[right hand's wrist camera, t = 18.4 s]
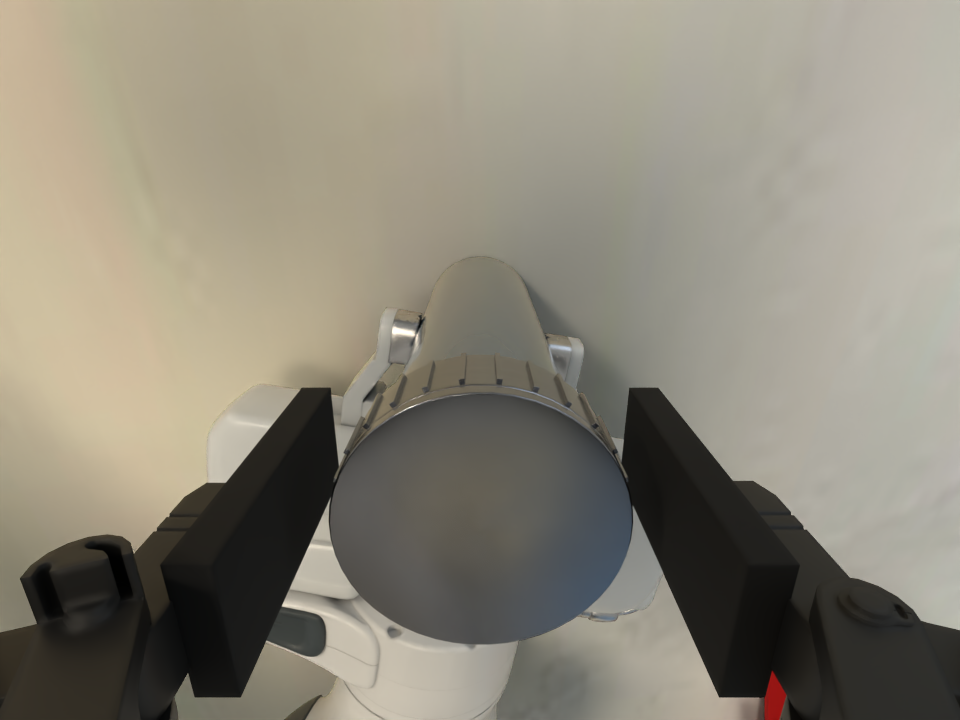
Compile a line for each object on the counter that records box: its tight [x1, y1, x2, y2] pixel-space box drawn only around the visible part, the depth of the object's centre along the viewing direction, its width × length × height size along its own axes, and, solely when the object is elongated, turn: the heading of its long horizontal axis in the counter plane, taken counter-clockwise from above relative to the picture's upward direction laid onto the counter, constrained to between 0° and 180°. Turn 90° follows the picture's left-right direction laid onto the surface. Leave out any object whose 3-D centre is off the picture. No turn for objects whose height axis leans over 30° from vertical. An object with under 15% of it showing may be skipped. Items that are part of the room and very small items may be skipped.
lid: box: [329, 353, 633, 645], centre depth 11 cm, size 6×6×2 cm
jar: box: [402, 257, 559, 376], centre depth 19 cm, size 5×5×17 cm
